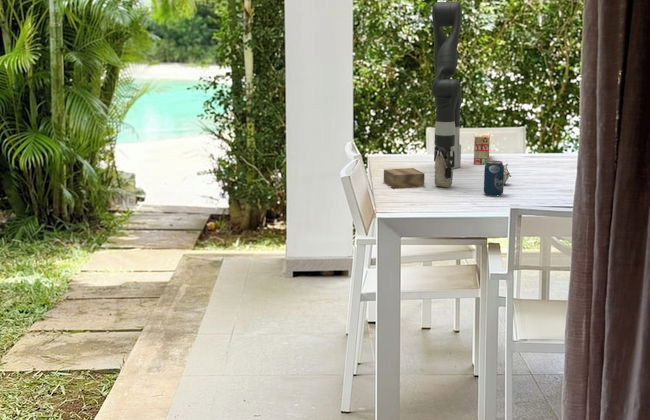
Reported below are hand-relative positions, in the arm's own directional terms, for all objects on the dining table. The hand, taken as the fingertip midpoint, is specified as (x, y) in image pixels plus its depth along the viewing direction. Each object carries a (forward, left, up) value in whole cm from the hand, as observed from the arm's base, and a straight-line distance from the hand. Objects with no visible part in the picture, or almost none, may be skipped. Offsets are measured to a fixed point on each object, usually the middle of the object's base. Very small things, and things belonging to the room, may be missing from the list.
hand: (443, 176), depth 362 cm
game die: (-22, +2, -4) cm, 23 cm away
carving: (0, 0, -4) cm, 4 cm away
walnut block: (+13, -8, -4) cm, 16 cm away
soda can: (-12, +18, -4) cm, 22 cm away
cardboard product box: (-37, -48, -5) cm, 61 cm away
